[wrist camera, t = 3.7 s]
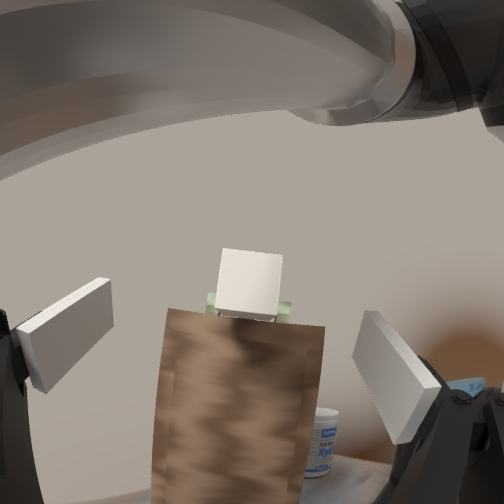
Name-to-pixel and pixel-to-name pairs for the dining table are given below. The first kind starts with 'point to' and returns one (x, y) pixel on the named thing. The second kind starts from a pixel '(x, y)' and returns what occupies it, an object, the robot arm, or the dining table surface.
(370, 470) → the dining table surface
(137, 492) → the dining table surface
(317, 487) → the dining table surface
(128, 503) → the dining table surface
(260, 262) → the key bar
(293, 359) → the shelf
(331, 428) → the supplement tub
